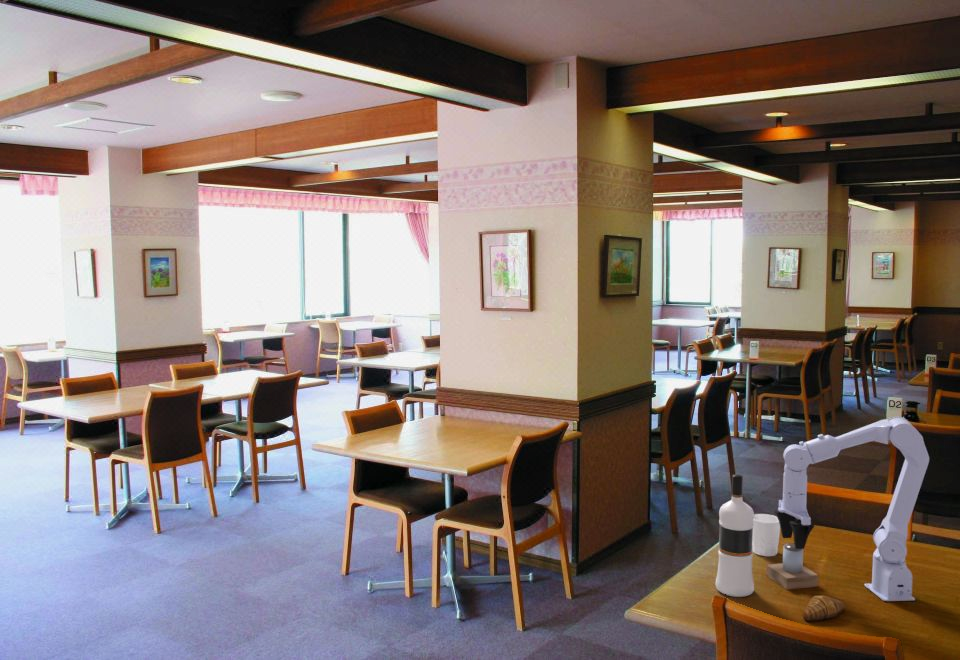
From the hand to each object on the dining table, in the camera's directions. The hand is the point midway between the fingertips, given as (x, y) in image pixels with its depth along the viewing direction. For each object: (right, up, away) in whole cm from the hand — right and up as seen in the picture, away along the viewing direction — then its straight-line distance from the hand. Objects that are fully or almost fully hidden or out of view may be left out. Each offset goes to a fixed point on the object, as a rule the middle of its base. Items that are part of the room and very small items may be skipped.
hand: (793, 543), depth 206 cm
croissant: (0, -13, -18) cm, 22 cm away
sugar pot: (0, -7, +1) cm, 7 cm away
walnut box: (0, -10, +1) cm, 10 cm away
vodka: (-17, -11, -5) cm, 21 cm away
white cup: (0, -9, +21) cm, 23 cm away
